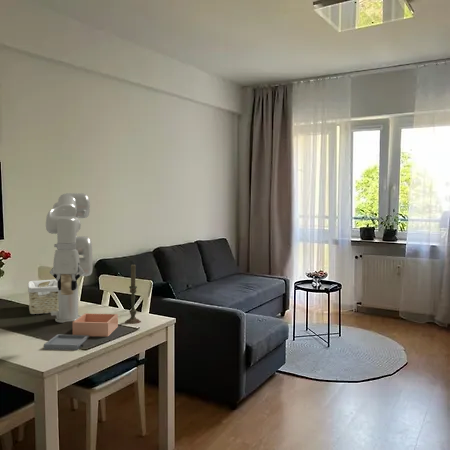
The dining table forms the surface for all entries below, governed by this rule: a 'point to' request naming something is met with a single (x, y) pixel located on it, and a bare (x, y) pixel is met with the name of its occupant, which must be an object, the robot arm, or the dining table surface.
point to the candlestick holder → (132, 298)
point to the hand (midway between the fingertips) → (67, 289)
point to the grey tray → (66, 342)
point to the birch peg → (66, 284)
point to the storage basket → (43, 296)
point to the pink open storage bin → (95, 324)
